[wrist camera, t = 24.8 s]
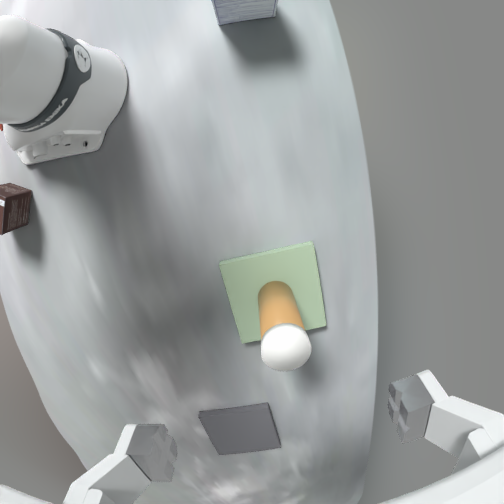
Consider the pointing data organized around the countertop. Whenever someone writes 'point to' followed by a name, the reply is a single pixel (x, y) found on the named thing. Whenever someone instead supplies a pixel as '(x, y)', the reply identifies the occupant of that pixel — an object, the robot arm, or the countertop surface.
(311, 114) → the countertop surface
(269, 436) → the tile
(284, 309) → the pill bottle
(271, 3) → the medicine box
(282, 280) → the tile
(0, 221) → the box
